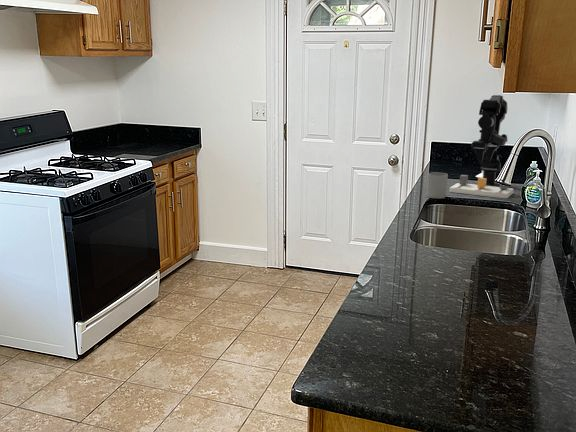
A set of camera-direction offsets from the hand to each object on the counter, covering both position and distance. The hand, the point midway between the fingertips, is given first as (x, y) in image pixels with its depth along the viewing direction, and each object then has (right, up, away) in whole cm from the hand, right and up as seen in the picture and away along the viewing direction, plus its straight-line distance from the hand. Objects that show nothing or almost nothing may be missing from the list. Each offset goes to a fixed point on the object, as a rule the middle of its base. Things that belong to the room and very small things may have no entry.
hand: (484, 162), depth 253 cm
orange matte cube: (-2, -11, -2) cm, 12 cm away
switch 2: (+7, -12, -5) cm, 15 cm away
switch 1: (-8, -10, +5) cm, 13 cm away
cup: (-25, -16, -9) cm, 31 cm away
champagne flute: (+11, -4, +35) cm, 37 cm away
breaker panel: (-2, -14, -2) cm, 14 cm away
